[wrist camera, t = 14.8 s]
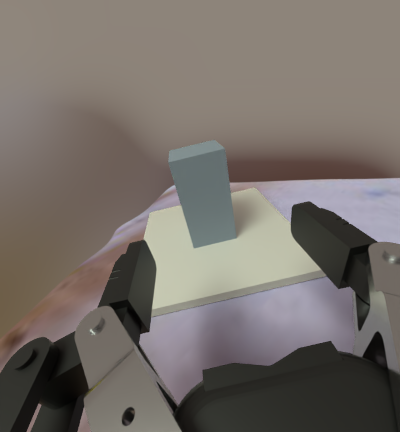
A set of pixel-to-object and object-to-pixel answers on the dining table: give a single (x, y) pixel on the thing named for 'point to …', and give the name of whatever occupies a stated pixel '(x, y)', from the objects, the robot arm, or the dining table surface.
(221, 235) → the slate block
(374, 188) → the dining table surface
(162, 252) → the cream tile
